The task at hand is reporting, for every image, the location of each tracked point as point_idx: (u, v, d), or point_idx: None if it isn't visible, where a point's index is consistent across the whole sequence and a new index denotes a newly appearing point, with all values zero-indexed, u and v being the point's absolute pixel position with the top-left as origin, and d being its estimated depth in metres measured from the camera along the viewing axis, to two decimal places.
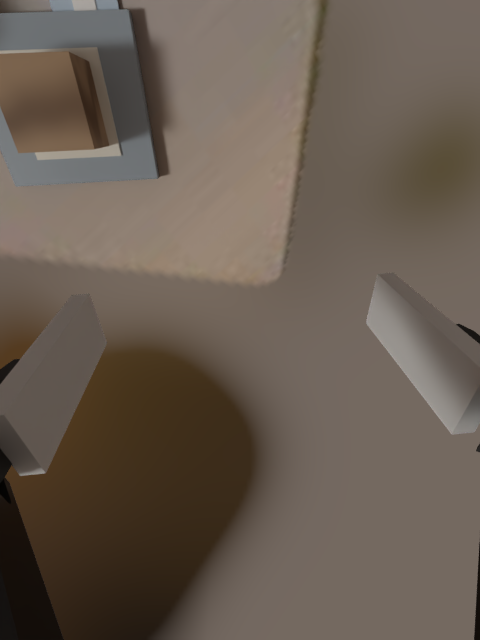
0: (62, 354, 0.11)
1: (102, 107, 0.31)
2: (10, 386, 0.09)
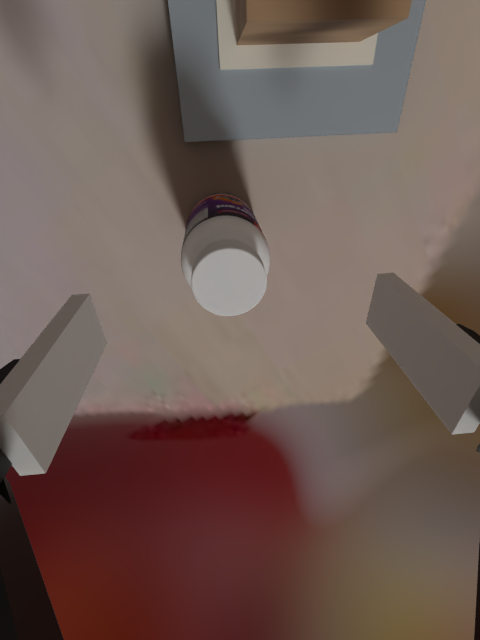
0: (62, 354, 0.11)
1: None
2: (10, 386, 0.09)
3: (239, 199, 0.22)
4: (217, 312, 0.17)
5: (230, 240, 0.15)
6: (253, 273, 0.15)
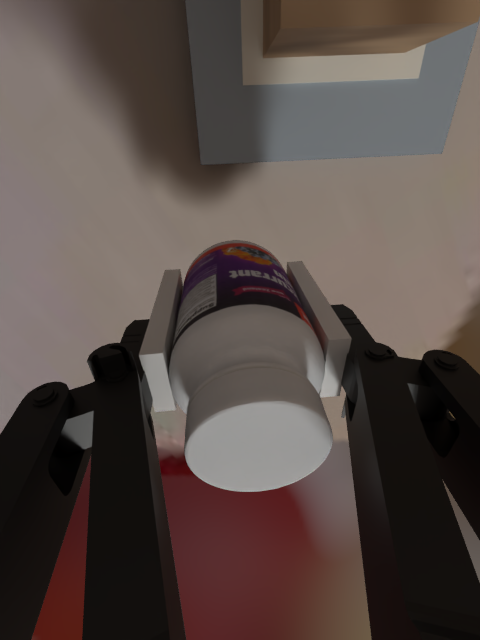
0: (175, 315, 0.12)
1: None
2: (155, 334, 0.10)
3: (263, 249, 0.14)
4: (234, 489, 0.09)
5: (262, 369, 0.08)
6: (308, 435, 0.08)
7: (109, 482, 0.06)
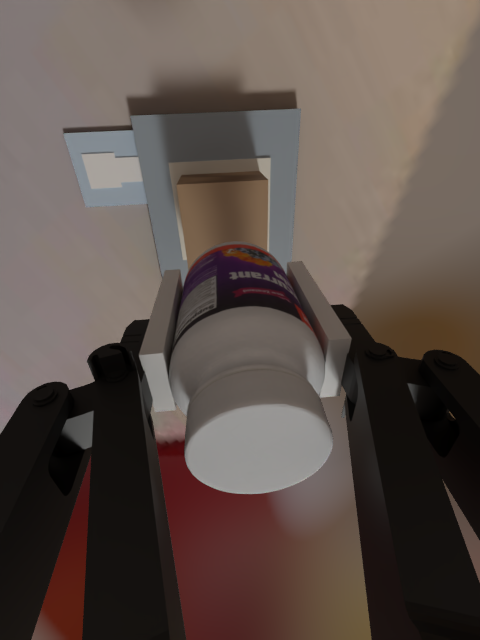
0: (175, 315, 0.12)
1: (221, 169, 0.27)
2: (155, 334, 0.10)
3: (263, 250, 0.14)
4: (235, 491, 0.09)
5: (262, 371, 0.08)
6: (308, 438, 0.08)
7: (109, 482, 0.06)
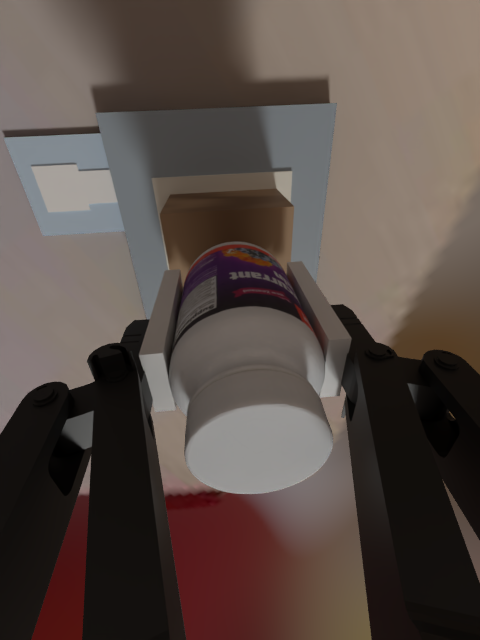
0: (175, 315, 0.12)
1: (225, 186, 0.20)
2: (155, 334, 0.10)
3: (263, 250, 0.14)
4: (235, 491, 0.09)
5: (262, 371, 0.08)
6: (308, 438, 0.08)
7: (109, 482, 0.06)
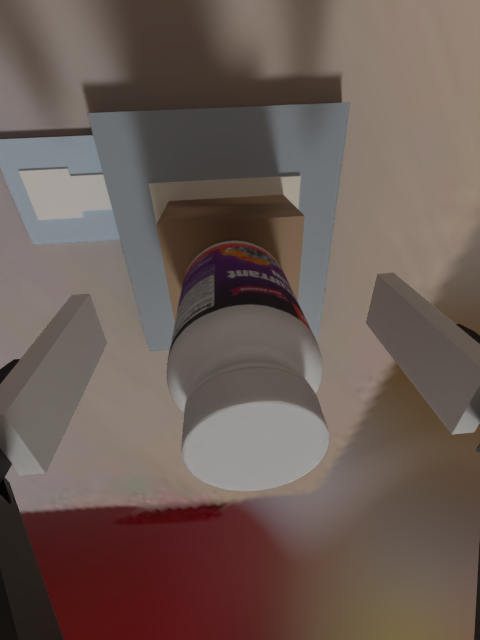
0: (62, 354, 0.11)
1: (228, 192, 0.18)
2: (10, 386, 0.08)
3: (262, 249, 0.14)
4: (232, 488, 0.09)
5: (259, 369, 0.08)
6: (304, 435, 0.08)
7: None
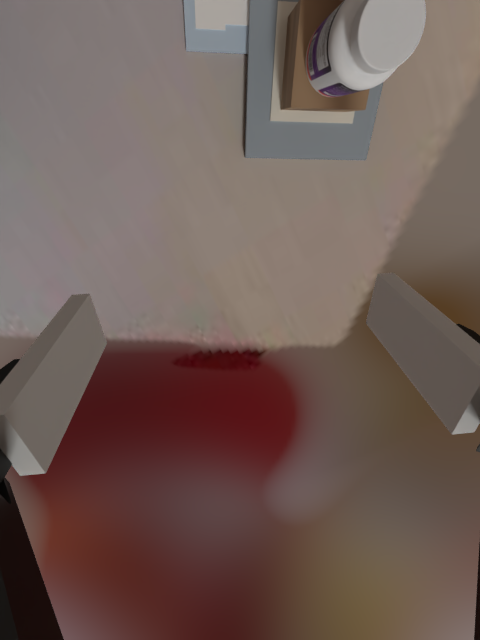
0: (62, 354, 0.11)
1: None
2: (10, 386, 0.09)
3: None
4: (372, 63, 0.18)
5: None
6: (415, 15, 0.17)
7: None
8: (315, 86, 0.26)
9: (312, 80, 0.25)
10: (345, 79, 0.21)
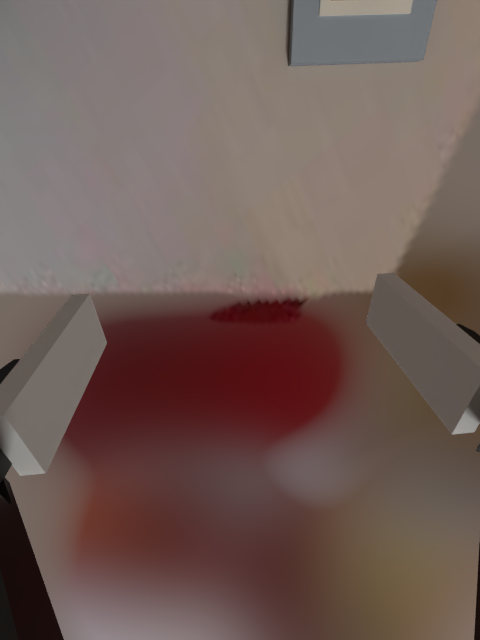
0: (62, 354, 0.11)
1: None
2: (10, 386, 0.09)
3: None
4: None
5: None
6: None
7: None
8: None
9: None
10: None
